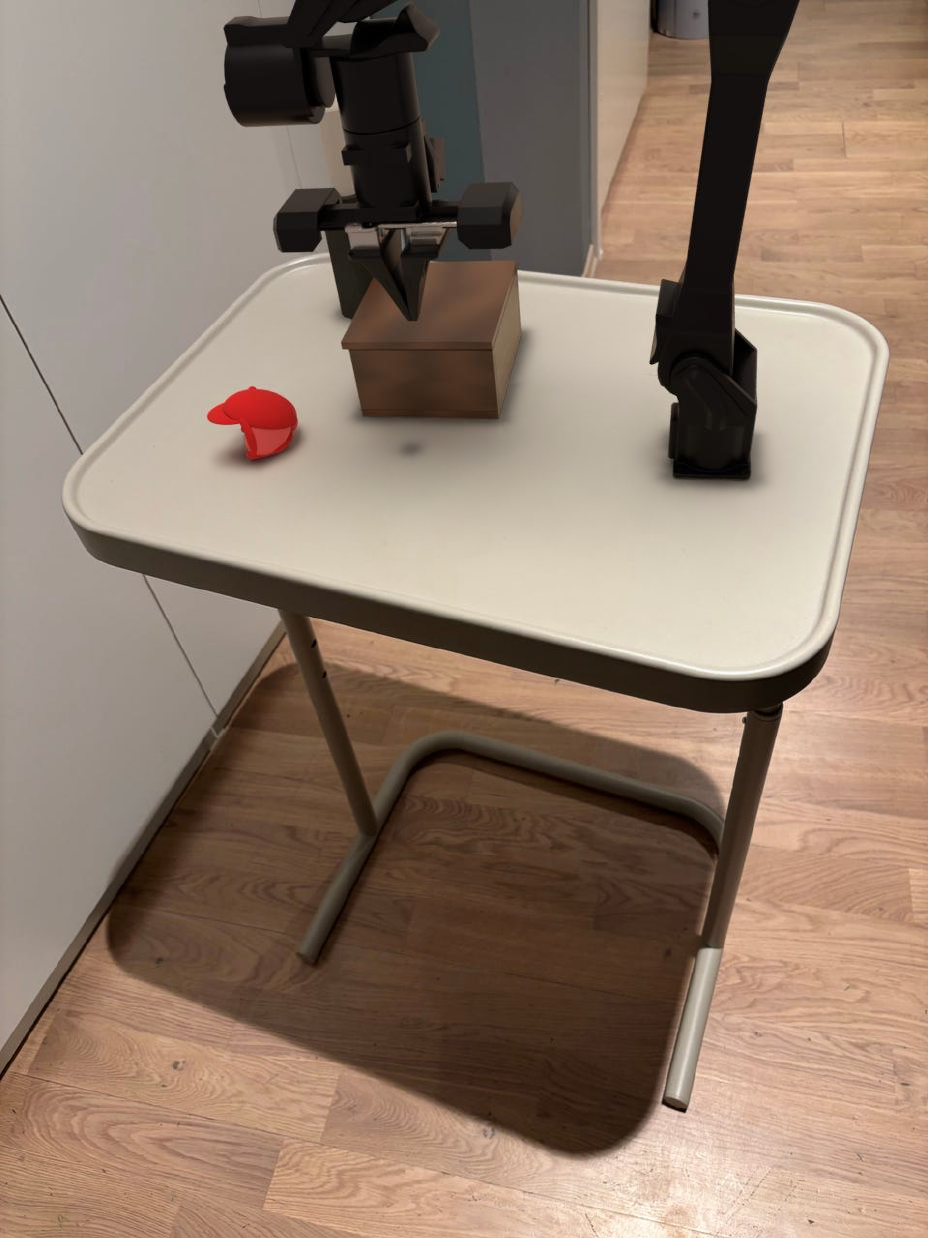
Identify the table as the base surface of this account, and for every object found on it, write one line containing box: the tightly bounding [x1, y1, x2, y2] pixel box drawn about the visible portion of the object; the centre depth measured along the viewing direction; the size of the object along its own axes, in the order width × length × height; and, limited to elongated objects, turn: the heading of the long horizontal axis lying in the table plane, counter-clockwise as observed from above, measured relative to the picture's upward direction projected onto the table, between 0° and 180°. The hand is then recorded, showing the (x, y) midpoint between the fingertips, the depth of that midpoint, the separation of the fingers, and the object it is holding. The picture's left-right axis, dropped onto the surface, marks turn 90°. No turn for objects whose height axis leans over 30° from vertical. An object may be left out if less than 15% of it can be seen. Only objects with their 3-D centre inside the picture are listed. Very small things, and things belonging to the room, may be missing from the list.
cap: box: [206, 385, 299, 460], centre depth 88 cm, size 8×6×6 cm
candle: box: [318, 94, 374, 320], centre depth 98 cm, size 5×5×25 cm
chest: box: [348, 268, 523, 420], centre depth 93 cm, size 14×16×7 cm
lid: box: [340, 260, 518, 351], centre depth 91 cm, size 14×16×1 cm
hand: (413, 318), depth 79 cm, fingers closed
